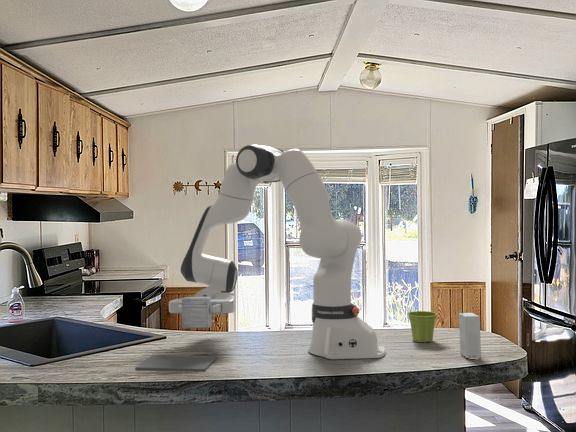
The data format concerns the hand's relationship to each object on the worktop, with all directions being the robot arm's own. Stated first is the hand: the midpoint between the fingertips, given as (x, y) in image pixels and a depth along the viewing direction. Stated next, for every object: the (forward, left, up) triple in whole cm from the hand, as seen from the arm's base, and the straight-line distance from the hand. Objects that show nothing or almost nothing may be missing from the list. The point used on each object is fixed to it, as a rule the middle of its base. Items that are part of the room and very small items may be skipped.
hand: (196, 310), depth 170 cm
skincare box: (-79, -3, -13) cm, 80 cm away
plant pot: (-68, -22, -13) cm, 72 cm away
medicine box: (0, -1, -5) cm, 5 cm away
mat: (+2, +11, -13) cm, 17 cm away
